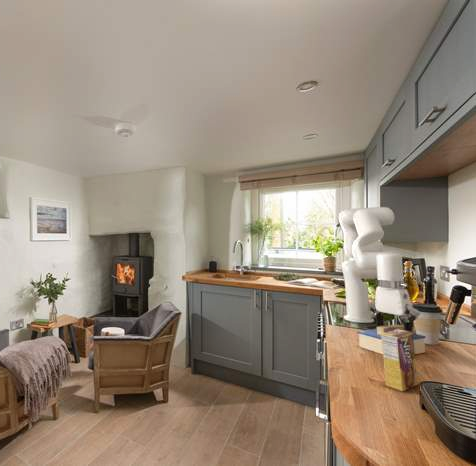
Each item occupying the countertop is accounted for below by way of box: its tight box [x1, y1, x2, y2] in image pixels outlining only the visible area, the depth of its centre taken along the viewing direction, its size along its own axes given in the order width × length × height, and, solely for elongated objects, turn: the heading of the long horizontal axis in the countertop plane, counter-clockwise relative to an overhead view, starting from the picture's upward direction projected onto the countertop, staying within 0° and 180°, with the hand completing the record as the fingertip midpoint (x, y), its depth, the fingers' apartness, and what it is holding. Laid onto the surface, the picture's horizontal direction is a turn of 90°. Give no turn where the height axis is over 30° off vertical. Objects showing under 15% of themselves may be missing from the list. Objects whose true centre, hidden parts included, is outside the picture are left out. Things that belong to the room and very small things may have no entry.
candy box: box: [381, 329, 419, 392], centre depth 85 cm, size 9×4×15 cm, turn 114°
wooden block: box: [376, 324, 416, 335], centre depth 113 cm, size 15×4×3 cm, turn 104°
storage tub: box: [357, 328, 426, 355], centre depth 112 cm, size 17×13×6 cm
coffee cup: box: [411, 303, 444, 346], centre depth 119 cm, size 9×9×15 cm
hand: (393, 328), depth 113 cm, fingers open, 9 cm apart
